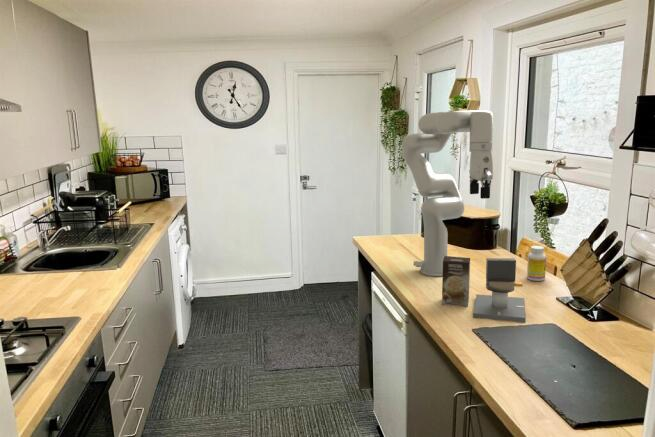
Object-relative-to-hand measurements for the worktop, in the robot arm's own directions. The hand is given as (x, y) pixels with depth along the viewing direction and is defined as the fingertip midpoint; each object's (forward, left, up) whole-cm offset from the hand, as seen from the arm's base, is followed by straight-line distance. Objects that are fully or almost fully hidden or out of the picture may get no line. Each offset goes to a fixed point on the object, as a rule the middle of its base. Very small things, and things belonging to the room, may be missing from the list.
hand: (479, 196), depth 182 cm
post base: (+8, -14, -36) cm, 40 cm away
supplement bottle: (+21, +22, -36) cm, 48 cm away
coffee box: (-7, -11, -36) cm, 39 cm away
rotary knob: (+9, -14, -29) cm, 33 cm away
